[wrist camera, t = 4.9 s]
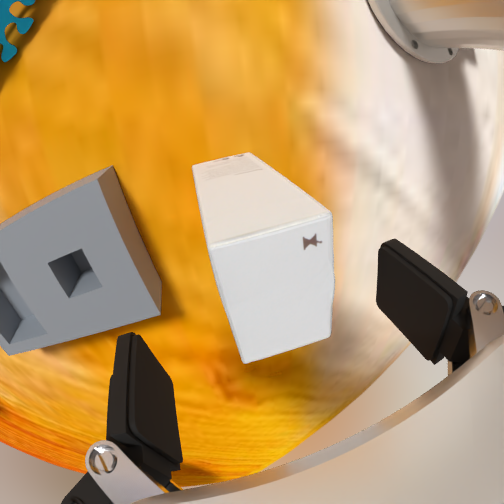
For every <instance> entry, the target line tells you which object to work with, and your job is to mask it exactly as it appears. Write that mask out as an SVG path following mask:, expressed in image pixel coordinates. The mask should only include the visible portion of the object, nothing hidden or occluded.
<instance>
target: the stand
mask: <svg viewBox="0 0 504 504" xmlns="http://www.w3.org/2000/svg"><path fill="white" fill-rule="evenodd" d="M161 293H162V281H161V279H160V277H159V275H158V273H157V271H156V269H155V267H154V265H153V263H152V260H151V258H150V256H149V254H148V252H147V249H146V247H145V245H144V243H143V240H142V238H141V236H140V234H139V231H138V229H137V227H136V224H135V222H134V219H133V217H132V215H131V212H130V210H129V207H128V205H127V202H126V200H125V197H124V194H123V192H122V189H121V187H120V184H119V181H118V179H117V176H116V173H115V170H114V168H113V165H112V166H110V167H108V168H105V169H103V170H101V171H98V172H96V173H94V174H92V175H90V176H87V177H85V178H83V179H81V180H79V181H77V182H75V183H73V184H71V185H69V186H67V187H65V188H63V189H61V190H59V191H57V192H55V193H53V194H51V195H49V196H47V197H45V198H43V199H42V200H40V201H38V202H36V203H34V204H33V205H31V206H29V207H27V208H26V209H24V210H22V211H21V212H19V213H17V214H16V215H14V216H12V217H11V218H9V219H7V220H6V221H4V222H3V223H1V224H0V346H1V347H2V348H3V350H4V351H5V352H6V353H7V354H8V355H9V356H10V355H14V354H18V353H22V352H26V351H31V350H35V349H39V348H43V347H47V346H50V345H54V344H58V343H62V342H66V341H70V340H73V339H77V338H81V337H85V336H88V335H92V334H96V333H99V332H103V331H106V330H110V329H113V328H117V327H120V326H124V325H127V324H131V323H134V322H138V321H141V320H145V319H148V318H151V317H155V316H158V315H161Z"/></svg>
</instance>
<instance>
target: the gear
mask: <svg viewBox="0 0 504 504" xmlns="http://www.w3.org/2000/svg"><path fill="white" fill-rule="evenodd" d="M16 1H20V2H21V3H22V4H23V5H25V6H28V5H32V4H34V2H35V0H0V44H2V45H3V50H2V54H1V58H2V61H3V62H7V61H8V60H10V59H11V58H12V57H13V56H14V55H15V54H16V53H17V49H16V47H15V46H14V45H12V44H10V43H9V42H8V41H7V39H6V37H5V32H4V30H5V28H6V26H7V25H8V24H10V23H12V22H14V23H16V24H17V30H18V32H19V33H21V34H25V33H26V32H27V31H28V30H29V28H30V27H31V25H32V23H33V21H34V20H33V19H32V18H30V17H26V18H17V17H15V16H13V15H12V14H11V13H10V12H9V8H10V6H11V5H12V4H13V3H14V2H16Z"/></svg>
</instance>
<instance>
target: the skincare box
mask: <svg viewBox="0 0 504 504" xmlns="http://www.w3.org/2000/svg"><path fill="white" fill-rule="evenodd" d="M192 171H193V176H194V182H195V187H196V193H197V199H198V204H199V209H200V214H201V219H202V224H203V229H204V234H205V238H206V243H207V248H208V253H209V257H210V261H211V265H212V269H213V273H214V277H215V281H216V284H217V288H218V291H219V294H220V297H221V300H222V303H223V306H224V309H225V312H226V315H227V317H228V320H229V324H230V327H231V330H232V333H233V335H234V338H235V341H236V344H237V347H238V350H239V353H240V356H241V359H242V362H243V363H245V364H247V363H250V362H253V361H257V360H260V359H264V358H267V357H270V356H273V355H277V354H280V353H283V352H286V351H289V350H293V349H296V348H299V347H302V346H305V345H308V344H311V343H314V342H317V341H320V340H323V339H326V338H328V337H330V335H331V328H332V305H333V299H334V290H335V276H334V254H333V216H332V213H331V212H330V211H329V210H328V209H326V208H325V207H324V206H323V205H321V204H320V203H319V202H318V201H316V200H315V199H314V198H312V197H311V196H310V195H308V194H307V193H306V192H304V191H303V190H302V189H300V188H299V187H298V186H296V185H295V184H293V183H292V182H291V181H290V180H288V179H287V178H286V177H284V176H283V175H281V174H280V173H279V172H277V171H276V170H274V169H273V168H272V167H270V166H269V165H267V164H266V163H264V162H263V161H262V160H260V159H259V158H257V157H256V156H254V155H253V154H251V153H244V154H239V155H234V156H229V157H225V158H221V159H217V160H213V161H208V162H204V163H200V164H196V165H193V166H192Z"/></svg>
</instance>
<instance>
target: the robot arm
mask: <svg viewBox="0 0 504 504" xmlns="http://www.w3.org/2000/svg"><path fill="white" fill-rule="evenodd" d="M368 2H369V4H370V6H371V8H372V10H373V12H374V14H375V15H376V17H377V19H378V21H379V22H380V23H381V25H382V26H383V28H384V29H385V30H386V32H387V33H388V34H389V35H390V36H391V37H392V39H393V40H394V41H395V42H396V43H397V44H398V45H399V46H400V47H402V48H403V49H404V50H405V51H406V52H408V53H409V54H410V55H412V56H413V57H415V58H417V59H419V60H421V61H424V62H428V63H445V62H448V61H450V60H452V59H453V57H454V56H455V55H456V54H457V52H458V50H459V48H478V49H493V50H503V51H504V0H368ZM376 303H377V305H378V307H379V309H380V310H381V311H382V312H383V313H384V314H385V315H386V316H387V317H388V318H389V319H390V320H391V321H392V322H393V323H394V325H395V326H396V327H397V328H398V329H399V330H400V331H401V332H402V333H403V334H404V335H405V336H406V338H407V339H408V340H409V341H410V342H411V343H412V344H413V345H414V346H415V348H416V349H417V350H418V351H419V352H420V353H421V354H422V355H423V357H425V359H426V360H431V361H432V363H433V364H434V365H435V364H436V363H438V362H439V361H440V360H442V359H443V358H444V356H445V357H446V359H448V376H447V377H446V378H445V379H444V380H443V381H441V382H440V383H438V384H437V385H435V386H434V387H433V388H432V389H430V390H429V391H427V392H426V393H424V394H423V395H421V396H420V397H419V398H417V399H415V400H414V401H412V402H411V403H409V404H408V405H406V406H405V407H403V408H401V409H400V410H398V411H396V412H395V413H393V414H391V415H390V416H388V417H386V418H385V419H383V420H381V421H380V422H378V423H376V424H374V425H373V426H370V427H369V428H367V429H365V430H363V431H361V432H359V433H357V434H355V435H353V436H351V437H349V438H347V439H345V440H343V441H341V442H339V443H336V444H334V445H332V446H330V447H327V448H325V449H323V450H320V451H318V452H316V453H313V454H311V455H308V456H306V457H303V458H301V459H298V460H295V461H292V462H290V463H287V464H284V465H281V466H278V467H275V468H272V469H269V470H265V471H263V472H259V473H255V474H252V475H248V476H245V477H241V478H237V479H233V480H229V481H225V482H220V483H216V484H211V485H207V486H202V487H197V488H191V489H185V490H183V489H182V488H181V487H179V486H178V485H177V484H176V483H174V482H173V481H172V480H171V479H172V477H171V471H177V470H180V464H179V463H182V462H183V457H182V450H181V444H180V437H179V430H178V423H177V415H176V407H175V398H174V388H173V383H172V380H171V378H170V376H169V375H168V374H167V372H166V371H165V370H164V368H163V367H162V366H161V364H160V363H159V362H158V360H157V359H156V357H155V356H154V355H153V353H152V352H151V350H150V349H149V347H148V346H147V344H146V343H145V341H144V340H143V338H142V337H141V336H140V335H135V333H133V332H130V333H127V334H124V335H120V336H118V339H117V345H116V353H115V361H114V370H113V375H112V376H111V378H110V386H109V397H108V412H107V434H106V440H102V441H99V442H96V443H95V444H93V445H92V446H91V447H90V448H89V450H88V452H87V454H86V459H85V463H86V468H87V470H88V472H87V473H86V474H85V475H84V476H83V478H82V479H81V480H80V481H79V482H78V483H77V484H76V485H75V487H74V488H73V489H72V490H71V491H70V492H69V493H68V494H67V495H66V496H65V498H64V499H63V501H62V503H61V504H504V306H502V305H501V303H500V301H499V299H498V298H497V297H496V296H495V295H494V294H492V293H490V292H488V291H483V290H482V291H476V292H474V293H473V294H472V295H471V296H470V298H468V297H467V291H466V290H465V289H463V288H462V287H461V286H459V285H458V284H457V283H456V282H454V281H453V280H452V279H451V278H449V277H448V276H447V275H445V274H444V273H443V272H441V271H440V270H439V269H437V268H436V267H435V266H433V265H432V264H431V263H429V262H428V261H427V260H425V259H424V258H422V257H421V256H420V255H418V254H417V253H415V252H414V251H413V250H411V249H410V248H408V247H407V246H405V245H404V244H402V243H401V242H400V241H398V240H396V239H392V240H389V241H387V242H384V243H382V244H381V248H380V249H379V251H378V276H377V294H376Z"/></svg>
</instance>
